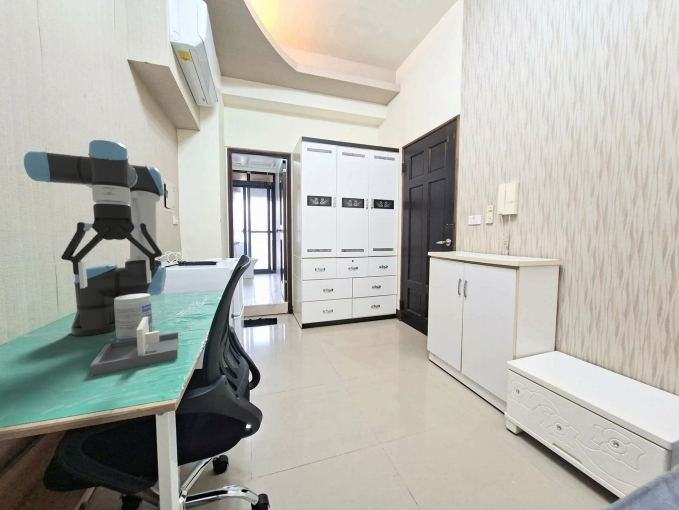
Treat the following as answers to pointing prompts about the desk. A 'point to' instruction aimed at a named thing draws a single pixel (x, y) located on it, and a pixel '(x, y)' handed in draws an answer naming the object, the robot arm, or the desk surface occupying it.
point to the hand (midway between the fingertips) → (118, 284)
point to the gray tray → (134, 354)
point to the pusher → (145, 336)
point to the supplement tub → (131, 314)
